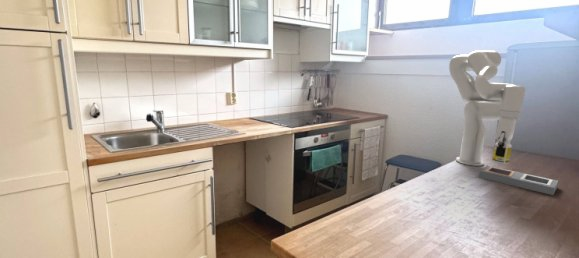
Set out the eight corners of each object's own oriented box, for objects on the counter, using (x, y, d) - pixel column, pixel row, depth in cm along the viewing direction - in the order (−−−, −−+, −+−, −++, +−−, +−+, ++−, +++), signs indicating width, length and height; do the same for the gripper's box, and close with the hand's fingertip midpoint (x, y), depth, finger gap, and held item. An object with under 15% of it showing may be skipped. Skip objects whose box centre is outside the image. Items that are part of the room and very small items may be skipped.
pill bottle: (503, 160, 143) (508, 136, 141) (511, 165, 137) (516, 140, 135) (489, 159, 144) (493, 135, 141) (496, 164, 138) (501, 139, 135)
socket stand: (486, 171, 150) (487, 164, 149) (556, 187, 132) (558, 180, 131) (478, 177, 142) (479, 170, 141) (553, 195, 124) (554, 187, 123)
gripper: (504, 111, 144) (496, 149, 148) (494, 115, 132) (486, 156, 137) (524, 113, 139) (516, 152, 143) (515, 118, 127) (506, 161, 131)
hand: (501, 154), depth 140 cm, fingers closed on pill bottle, 6 cm apart
